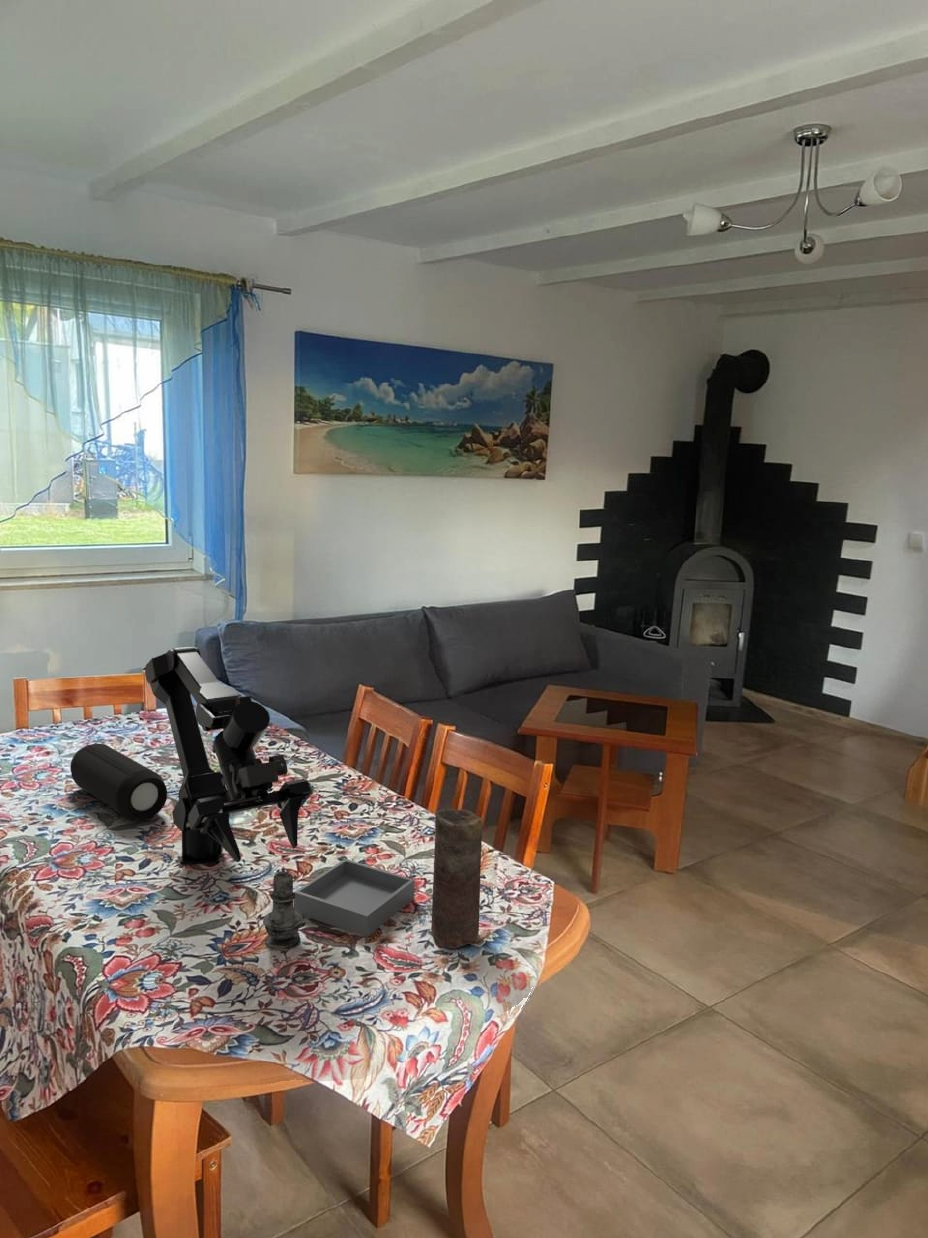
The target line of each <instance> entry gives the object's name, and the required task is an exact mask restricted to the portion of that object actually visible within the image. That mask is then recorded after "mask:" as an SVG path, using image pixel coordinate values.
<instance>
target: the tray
mask: <svg viewBox="0 0 928 1238" xmlns="http://www.w3.org/2000/svg"><path fill="white" fill-rule="evenodd" d="M415 880H416V879H414V878H411V877H407V876H404V875H400V874H397V873H394V872H391V871H387V870H383V869H381V868H376V867H373V866H372V865H371V866H370V865H367V864H364V863H361V862H357V861H354V860H350V859H348V858H347V859H346V858H344V859H343V860H341V861H340V862H338V863H336V864H335V865H333V866H332V867H330V868H329V869H327V870H325V871H324V872H322V873H321V874H319V875H318V876H316V877H315V878H313V879H311V880H310V881H308V882H307V883H306V884H304V885H302V886H300V887H299V888H298V889H296V890H294V891H293V892H294V893H295V898H294V899H293V909H294V911H296V912H299V913H300V914H301V915H302V917H306V918H309V919H312V920H315V921H317V922H320V923H323V924H326V925H330V926H332V927H335V928H338V929H342V930H343V931H347V932H350V933H353V934H356V935H358V936H361V937H365V938H368V937H369V936H370V935H371V934H373V933H374V932H375V931H377V929H379V928H380V927H382V926H383V925H384V924H385V923H387V922H388V921H389V920H390V919H391V918H393V917H394V916H395V915H397V914H398V913H399V912H400V911H401V910H402V909H404V908H405V907H407V906H408V905H409V904H410V903H411V902H413V900H415V885H416V884H415V883H416V881H415Z"/></svg>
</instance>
